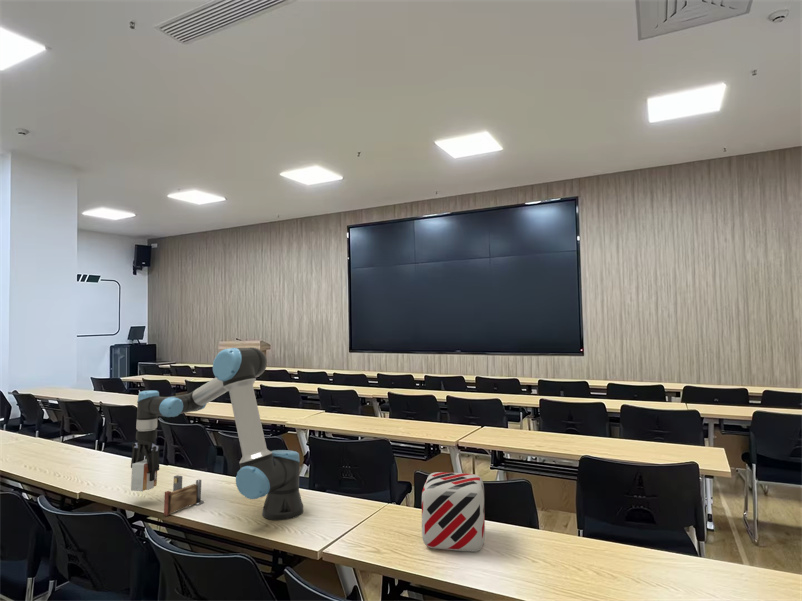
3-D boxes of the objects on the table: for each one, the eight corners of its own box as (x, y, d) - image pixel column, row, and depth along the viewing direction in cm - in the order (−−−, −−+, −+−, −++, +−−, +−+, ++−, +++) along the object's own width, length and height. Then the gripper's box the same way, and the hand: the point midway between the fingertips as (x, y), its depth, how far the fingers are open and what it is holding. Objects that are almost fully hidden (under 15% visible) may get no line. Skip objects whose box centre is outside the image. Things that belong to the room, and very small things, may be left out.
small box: (142, 491, 180) (143, 464, 181) (130, 490, 181) (131, 463, 182) (157, 485, 188) (158, 459, 189) (145, 484, 189) (146, 458, 190)
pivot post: (206, 502, 186) (207, 479, 187) (197, 505, 182) (198, 482, 183) (198, 500, 188) (199, 478, 189) (189, 504, 184) (190, 481, 185)
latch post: (185, 496, 194) (186, 475, 194) (178, 498, 191) (179, 477, 191) (177, 494, 196) (178, 474, 196) (170, 497, 193) (171, 476, 193)
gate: (193, 503, 184) (194, 481, 185) (197, 504, 183) (197, 482, 184) (163, 515, 172) (164, 491, 173) (167, 515, 171) (168, 492, 172)
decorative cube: (485, 557, 139) (484, 489, 141) (420, 552, 143) (419, 486, 145) (484, 530, 159) (484, 471, 161) (427, 526, 163) (427, 468, 164)
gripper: (171, 429, 186) (168, 488, 184) (139, 425, 194) (136, 481, 192) (154, 433, 179) (151, 494, 177) (122, 428, 187) (119, 487, 185)
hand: (143, 487), depth 185 cm, fingers closed on small box, 6 cm apart
